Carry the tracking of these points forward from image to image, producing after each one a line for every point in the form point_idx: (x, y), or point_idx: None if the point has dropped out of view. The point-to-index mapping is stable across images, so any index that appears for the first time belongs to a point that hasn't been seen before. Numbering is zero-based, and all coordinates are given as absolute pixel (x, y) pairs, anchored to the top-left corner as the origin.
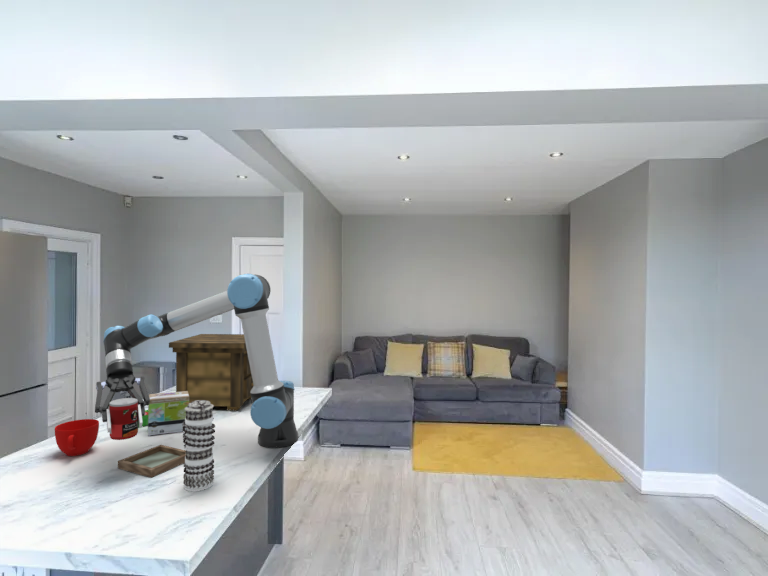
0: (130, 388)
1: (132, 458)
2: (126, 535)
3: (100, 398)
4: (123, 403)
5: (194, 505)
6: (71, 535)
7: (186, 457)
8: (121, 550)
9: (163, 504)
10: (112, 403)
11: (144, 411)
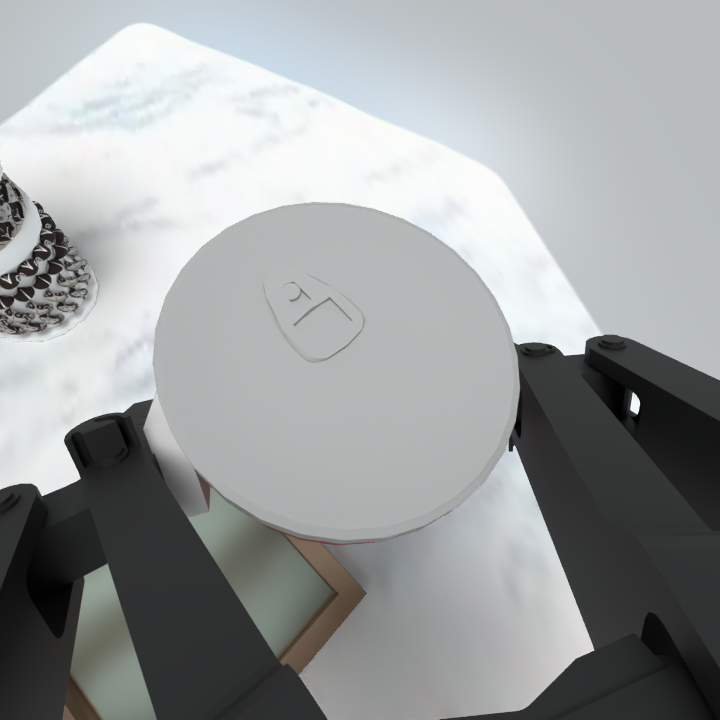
0: (266, 684)
1: (301, 636)
2: (257, 114)
3: (695, 403)
4: (333, 287)
5: (87, 175)
6: (375, 154)
7: (19, 201)
8: (260, 74)
9: (172, 210)
10: (467, 313)
11: (127, 413)
